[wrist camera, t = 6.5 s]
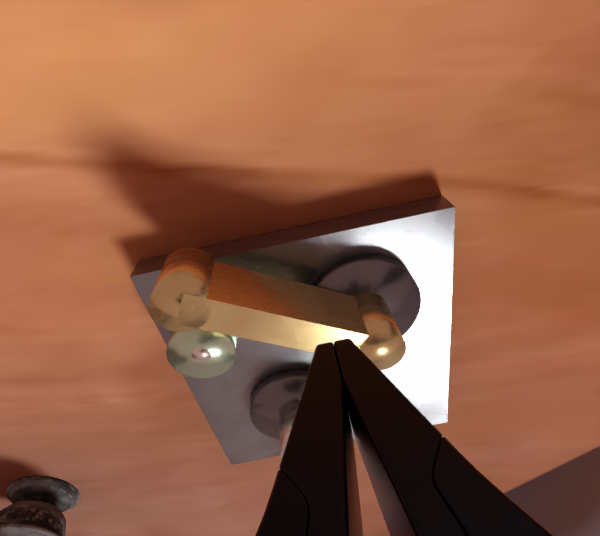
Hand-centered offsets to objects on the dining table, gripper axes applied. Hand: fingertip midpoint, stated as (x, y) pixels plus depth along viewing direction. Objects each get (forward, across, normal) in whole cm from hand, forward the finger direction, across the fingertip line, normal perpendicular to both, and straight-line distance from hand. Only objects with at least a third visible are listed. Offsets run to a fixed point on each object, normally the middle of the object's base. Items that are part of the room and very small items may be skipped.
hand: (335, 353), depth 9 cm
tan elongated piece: (+9, -2, +6) cm, 11 cm away
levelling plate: (+11, +1, +10) cm, 15 cm away
